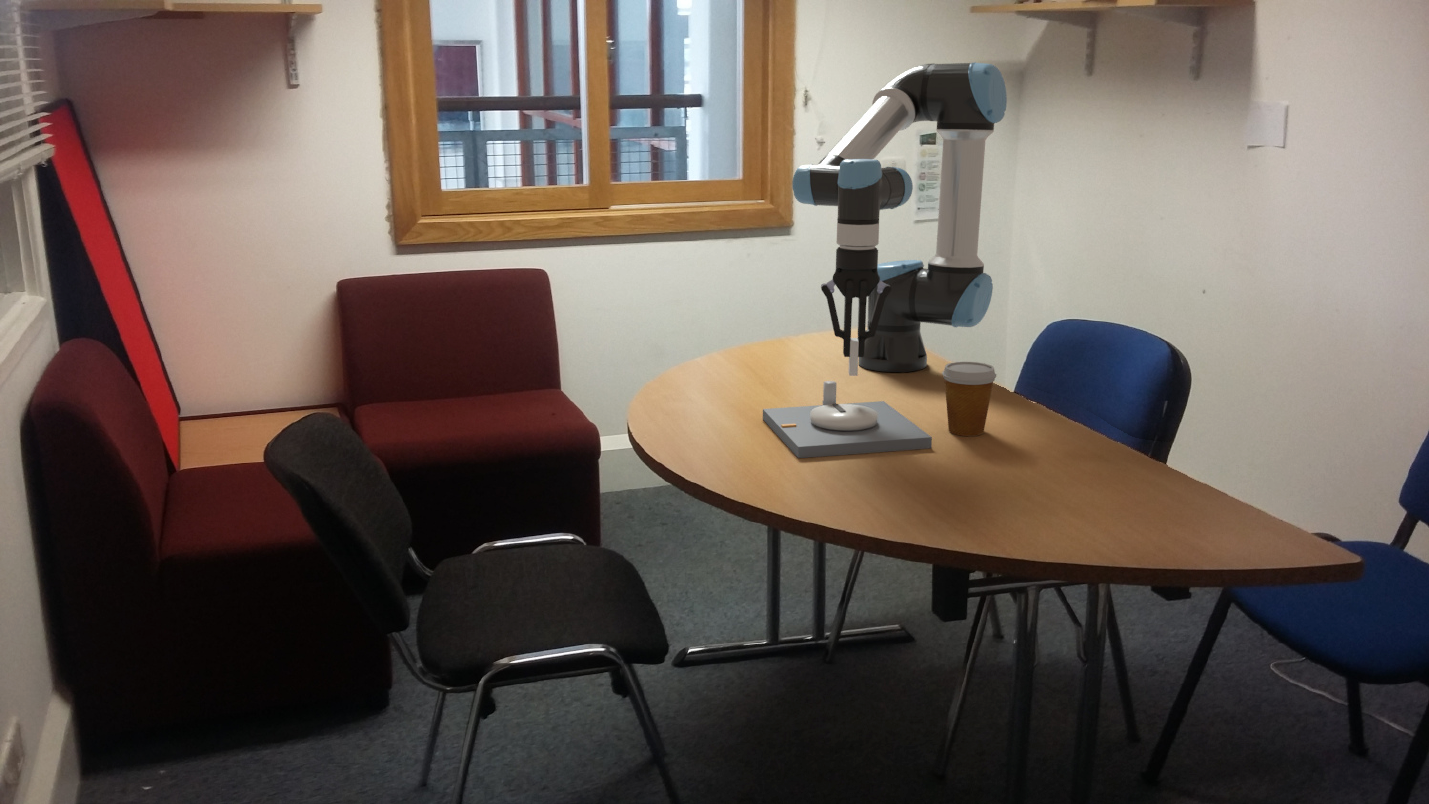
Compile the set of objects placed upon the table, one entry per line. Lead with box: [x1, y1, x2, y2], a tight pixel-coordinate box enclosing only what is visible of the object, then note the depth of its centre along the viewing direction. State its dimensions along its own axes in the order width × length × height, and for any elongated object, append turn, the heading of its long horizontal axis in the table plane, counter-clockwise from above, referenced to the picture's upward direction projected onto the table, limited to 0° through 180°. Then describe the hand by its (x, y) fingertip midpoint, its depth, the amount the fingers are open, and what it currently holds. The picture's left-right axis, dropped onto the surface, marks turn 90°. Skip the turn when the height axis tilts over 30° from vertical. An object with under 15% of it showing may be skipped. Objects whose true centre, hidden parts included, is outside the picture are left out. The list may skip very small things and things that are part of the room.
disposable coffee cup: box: [941, 361, 997, 437], centre depth 210 cm, size 10×10×12 cm
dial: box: [810, 380, 878, 431], centre depth 211 cm, size 16×12×5 cm
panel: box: [762, 400, 933, 459], centre depth 210 cm, size 24×24×2 cm
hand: (852, 373), depth 216 cm, fingers closed
